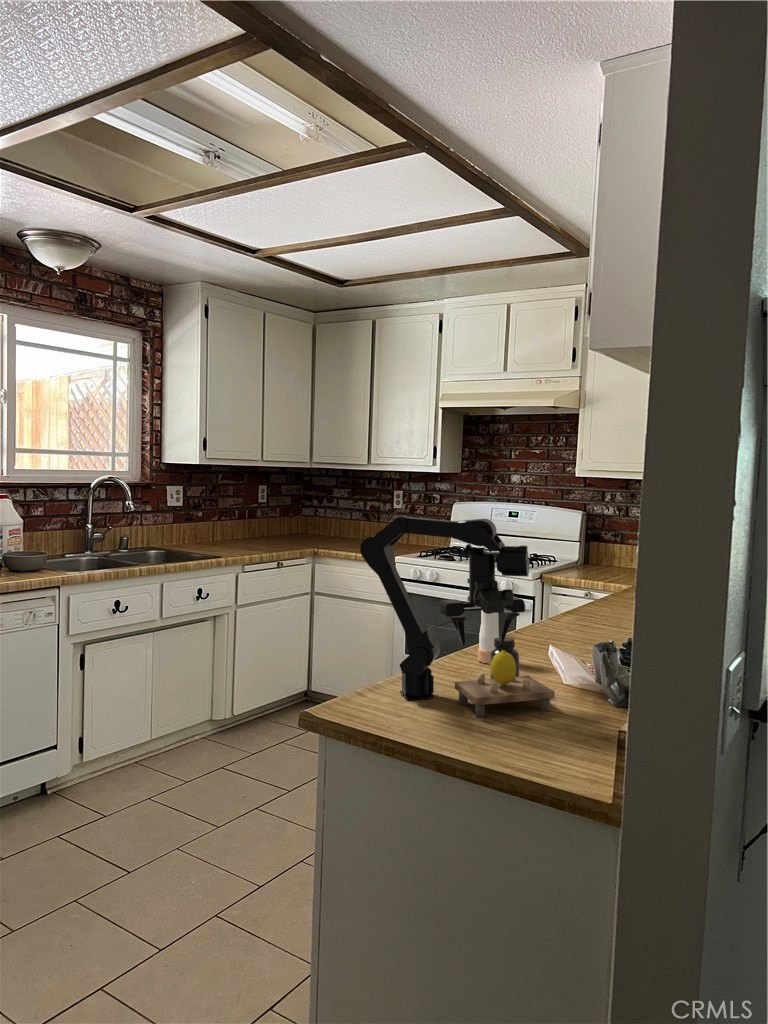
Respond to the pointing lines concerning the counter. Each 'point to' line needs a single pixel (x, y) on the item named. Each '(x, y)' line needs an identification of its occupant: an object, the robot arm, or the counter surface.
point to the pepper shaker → (487, 635)
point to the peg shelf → (503, 692)
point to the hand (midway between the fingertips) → (482, 644)
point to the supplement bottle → (509, 648)
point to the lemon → (503, 668)
